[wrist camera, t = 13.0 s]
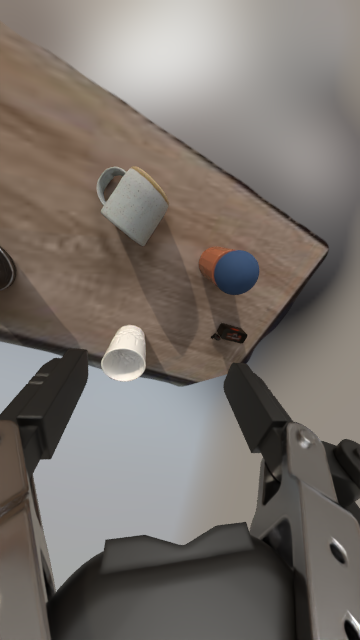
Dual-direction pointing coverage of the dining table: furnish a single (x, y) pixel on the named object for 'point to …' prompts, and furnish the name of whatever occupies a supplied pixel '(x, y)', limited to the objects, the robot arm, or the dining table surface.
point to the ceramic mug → (133, 202)
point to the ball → (236, 272)
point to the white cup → (125, 354)
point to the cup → (211, 261)
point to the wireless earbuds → (230, 333)
